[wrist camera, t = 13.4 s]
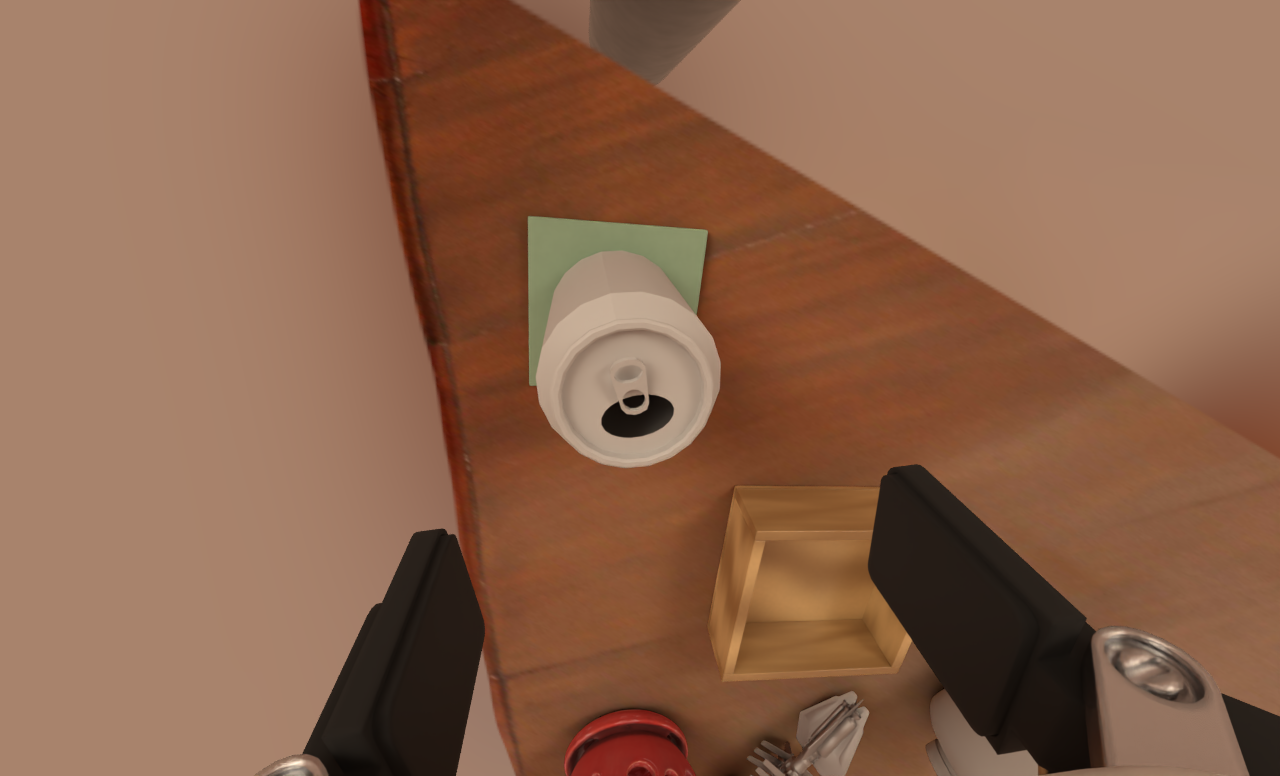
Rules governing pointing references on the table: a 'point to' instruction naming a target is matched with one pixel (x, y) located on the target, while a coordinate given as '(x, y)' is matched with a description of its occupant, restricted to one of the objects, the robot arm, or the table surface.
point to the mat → (573, 240)
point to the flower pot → (629, 747)
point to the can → (625, 363)
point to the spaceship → (819, 740)
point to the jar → (968, 747)
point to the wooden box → (801, 587)
